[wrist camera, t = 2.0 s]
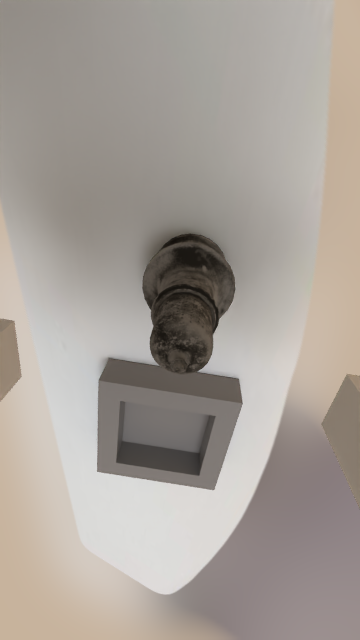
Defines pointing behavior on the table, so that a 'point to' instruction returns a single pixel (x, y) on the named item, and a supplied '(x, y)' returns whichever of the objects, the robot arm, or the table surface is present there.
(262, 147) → the table surface
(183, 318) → the dark grey tall piece
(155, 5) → the table surface
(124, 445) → the grey square tray
